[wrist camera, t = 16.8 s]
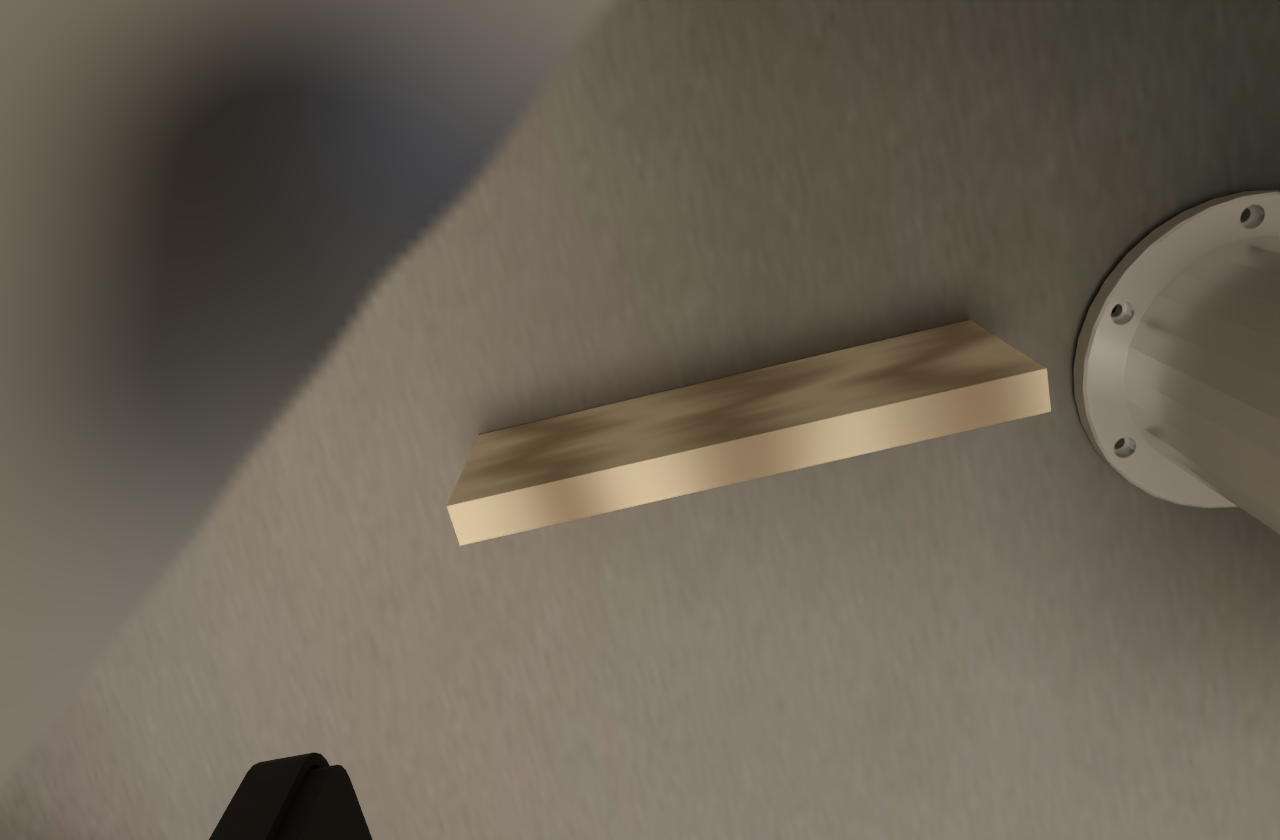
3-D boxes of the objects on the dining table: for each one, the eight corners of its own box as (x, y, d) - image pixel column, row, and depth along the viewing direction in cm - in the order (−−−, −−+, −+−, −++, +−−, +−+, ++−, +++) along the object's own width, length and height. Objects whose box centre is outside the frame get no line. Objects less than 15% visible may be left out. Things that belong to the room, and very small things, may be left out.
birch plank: (970, 319, 36) (1046, 368, 30) (974, 355, 37) (1051, 411, 30) (478, 435, 38) (446, 506, 31) (489, 468, 38) (460, 545, 31)
